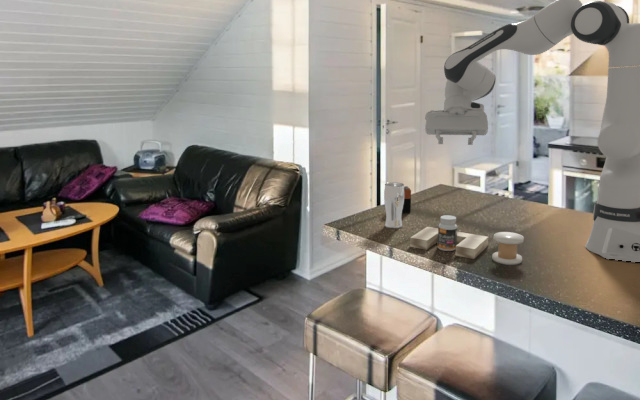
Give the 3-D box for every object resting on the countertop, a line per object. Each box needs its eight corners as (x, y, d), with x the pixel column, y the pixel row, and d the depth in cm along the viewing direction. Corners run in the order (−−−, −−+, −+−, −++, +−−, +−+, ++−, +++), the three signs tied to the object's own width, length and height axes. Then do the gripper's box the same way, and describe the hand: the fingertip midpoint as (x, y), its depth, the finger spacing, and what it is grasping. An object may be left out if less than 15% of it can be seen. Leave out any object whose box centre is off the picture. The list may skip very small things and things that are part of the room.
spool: (525, 257, 146) (527, 234, 144) (517, 266, 139) (519, 242, 138) (496, 252, 150) (498, 230, 148) (488, 261, 144) (490, 237, 142)
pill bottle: (437, 251, 153) (438, 219, 150) (437, 244, 158) (438, 214, 155) (456, 252, 151) (458, 220, 149) (456, 245, 157) (457, 215, 154)
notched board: (487, 246, 156) (488, 236, 155) (474, 259, 146) (474, 249, 145) (427, 235, 167) (427, 226, 166) (410, 246, 157) (410, 237, 156)
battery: (391, 210, 197) (391, 185, 195) (408, 210, 197) (409, 185, 195) (392, 213, 193) (393, 187, 191) (410, 213, 193) (411, 187, 191)
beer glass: (401, 222, 181) (402, 181, 177) (405, 228, 174) (406, 186, 171) (382, 223, 181) (382, 182, 177) (385, 229, 174) (385, 186, 170)
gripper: (425, 104, 173) (422, 137, 166) (488, 104, 167) (488, 138, 161) (426, 116, 178) (423, 148, 171) (487, 117, 173) (486, 149, 166)
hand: (455, 143), depth 166 cm, fingers open, 8 cm apart
